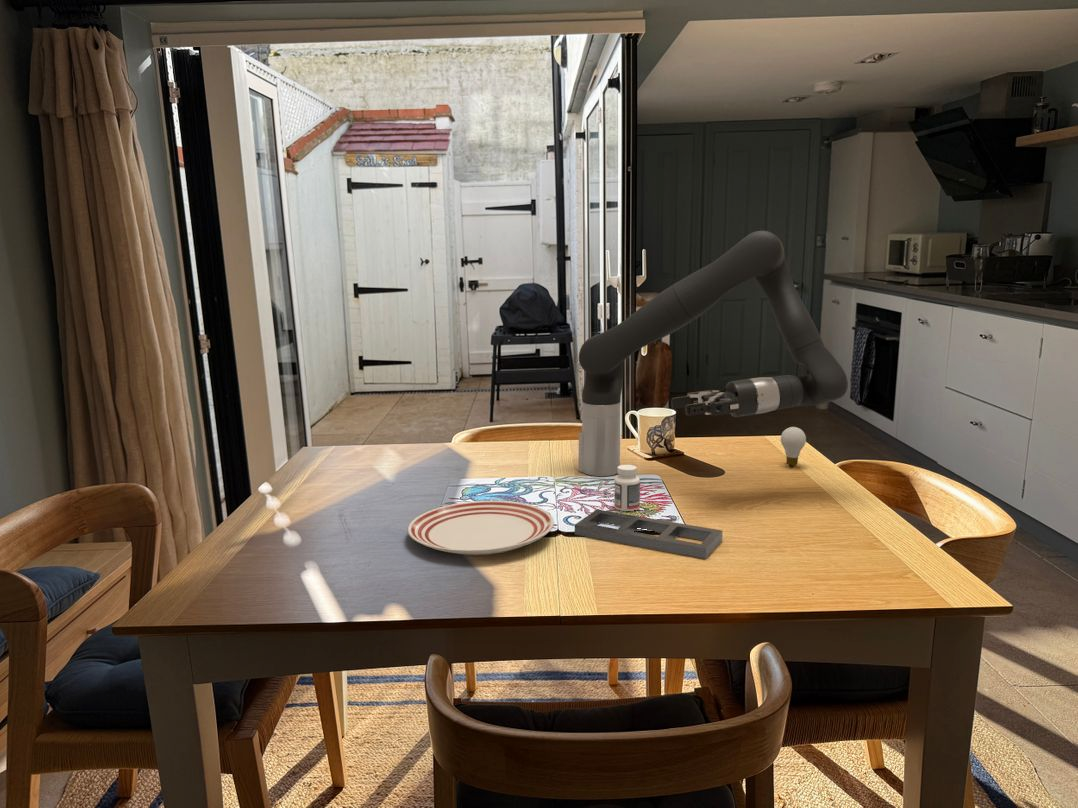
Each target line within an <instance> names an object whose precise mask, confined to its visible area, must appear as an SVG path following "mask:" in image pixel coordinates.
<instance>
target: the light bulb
mask: <svg viewBox="0 0 1078 808" xmlns="http://www.w3.org/2000/svg"><path fill="white" fill-rule="evenodd" d="M780 442H781V446H782V447H783V449H784V451H785V456H786V457H785V460H786V465H788V467H790V468H794V467H796V466H797V465H798V461H799V456H800V454H801V450H802V449H803V448H804V447H805V445H806V442H807V435H806V434H805V432H804V431H803V430H802V429H801V428H799V427H796V426H790V427H788V428H786V429H784V430H783V431H782V432H781V435H780Z"/></svg>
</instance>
